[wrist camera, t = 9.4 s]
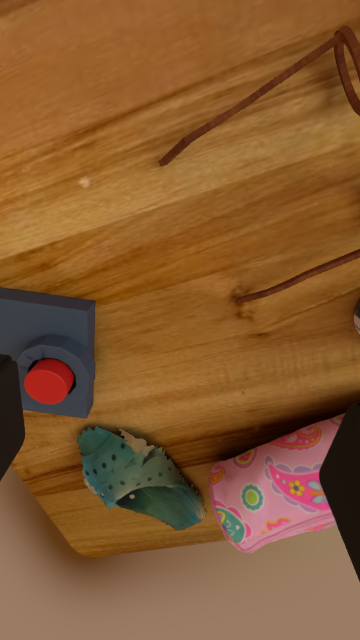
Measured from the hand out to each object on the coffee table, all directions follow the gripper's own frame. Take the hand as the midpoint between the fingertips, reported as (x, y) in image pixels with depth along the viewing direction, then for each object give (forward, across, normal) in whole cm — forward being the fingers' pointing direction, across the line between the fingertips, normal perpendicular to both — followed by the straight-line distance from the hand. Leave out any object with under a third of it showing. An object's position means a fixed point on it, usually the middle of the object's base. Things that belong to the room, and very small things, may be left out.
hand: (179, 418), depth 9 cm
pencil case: (+19, -16, +18) cm, 31 cm away
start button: (+16, +10, +11) cm, 22 cm away
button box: (+19, +12, +11) cm, 25 cm away
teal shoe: (+20, +1, +27) cm, 34 cm away
